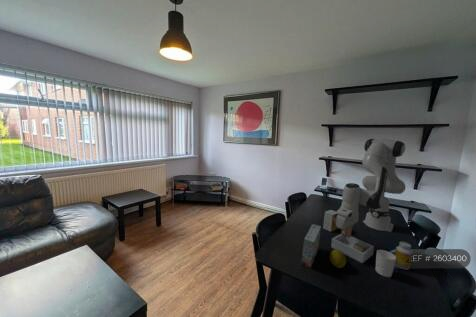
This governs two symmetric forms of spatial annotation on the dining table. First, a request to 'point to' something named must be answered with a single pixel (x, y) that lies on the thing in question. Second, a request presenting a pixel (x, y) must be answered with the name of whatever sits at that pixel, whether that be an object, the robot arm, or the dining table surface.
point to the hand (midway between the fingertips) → (346, 231)
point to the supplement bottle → (403, 255)
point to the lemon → (337, 258)
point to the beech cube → (359, 247)
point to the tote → (347, 248)
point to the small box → (330, 220)
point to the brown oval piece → (347, 232)
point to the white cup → (385, 263)
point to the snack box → (311, 246)
